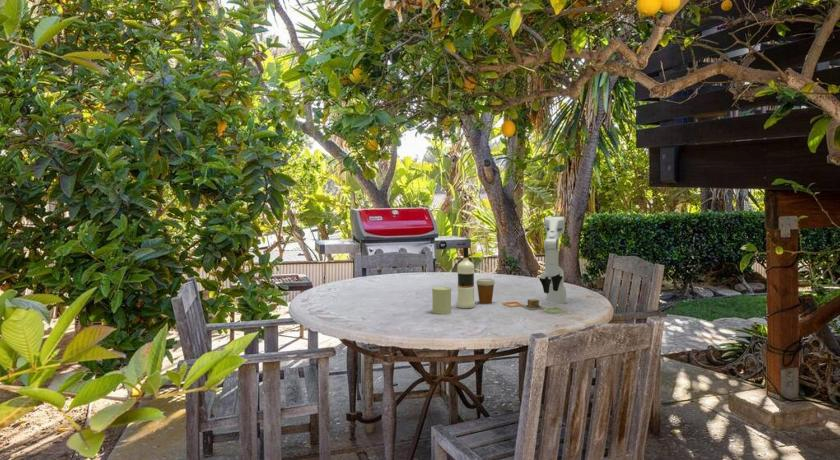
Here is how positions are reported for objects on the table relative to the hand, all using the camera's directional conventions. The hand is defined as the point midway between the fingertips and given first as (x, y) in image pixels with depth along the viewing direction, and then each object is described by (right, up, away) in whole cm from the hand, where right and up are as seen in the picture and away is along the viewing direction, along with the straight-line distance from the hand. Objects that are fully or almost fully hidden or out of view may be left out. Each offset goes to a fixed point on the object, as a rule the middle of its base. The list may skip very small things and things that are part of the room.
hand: (551, 291), depth 277 cm
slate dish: (-7, -9, +7) cm, 13 cm away
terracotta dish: (-16, -8, +14) cm, 23 cm away
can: (-52, -10, +2) cm, 53 cm away
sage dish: (+2, -9, -1) cm, 10 cm away
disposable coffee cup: (-29, -8, +21) cm, 37 cm away
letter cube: (-7, -9, +7) cm, 13 cm away
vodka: (-40, -9, +12) cm, 42 cm away
